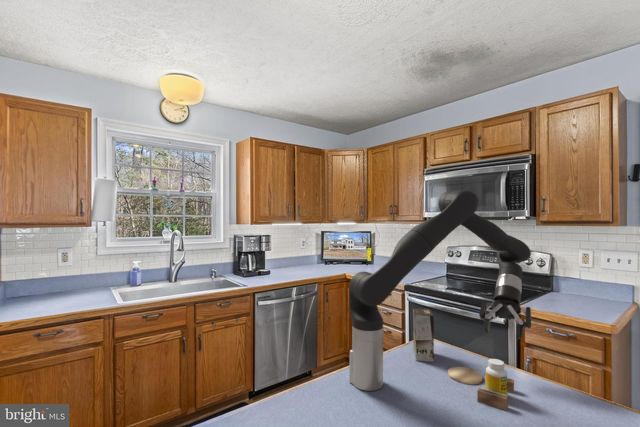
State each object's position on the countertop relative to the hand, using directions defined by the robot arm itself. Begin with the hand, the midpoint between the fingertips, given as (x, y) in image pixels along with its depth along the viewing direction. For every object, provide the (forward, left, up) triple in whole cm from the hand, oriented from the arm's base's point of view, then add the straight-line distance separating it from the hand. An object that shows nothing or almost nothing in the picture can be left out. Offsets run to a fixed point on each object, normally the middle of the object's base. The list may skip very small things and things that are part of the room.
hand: (502, 334), depth 101 cm
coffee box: (-26, +3, -15) cm, 30 cm away
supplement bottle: (0, -10, -15) cm, 18 cm away
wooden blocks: (0, -10, -14) cm, 18 cm away
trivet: (-10, -4, -14) cm, 18 cm away
